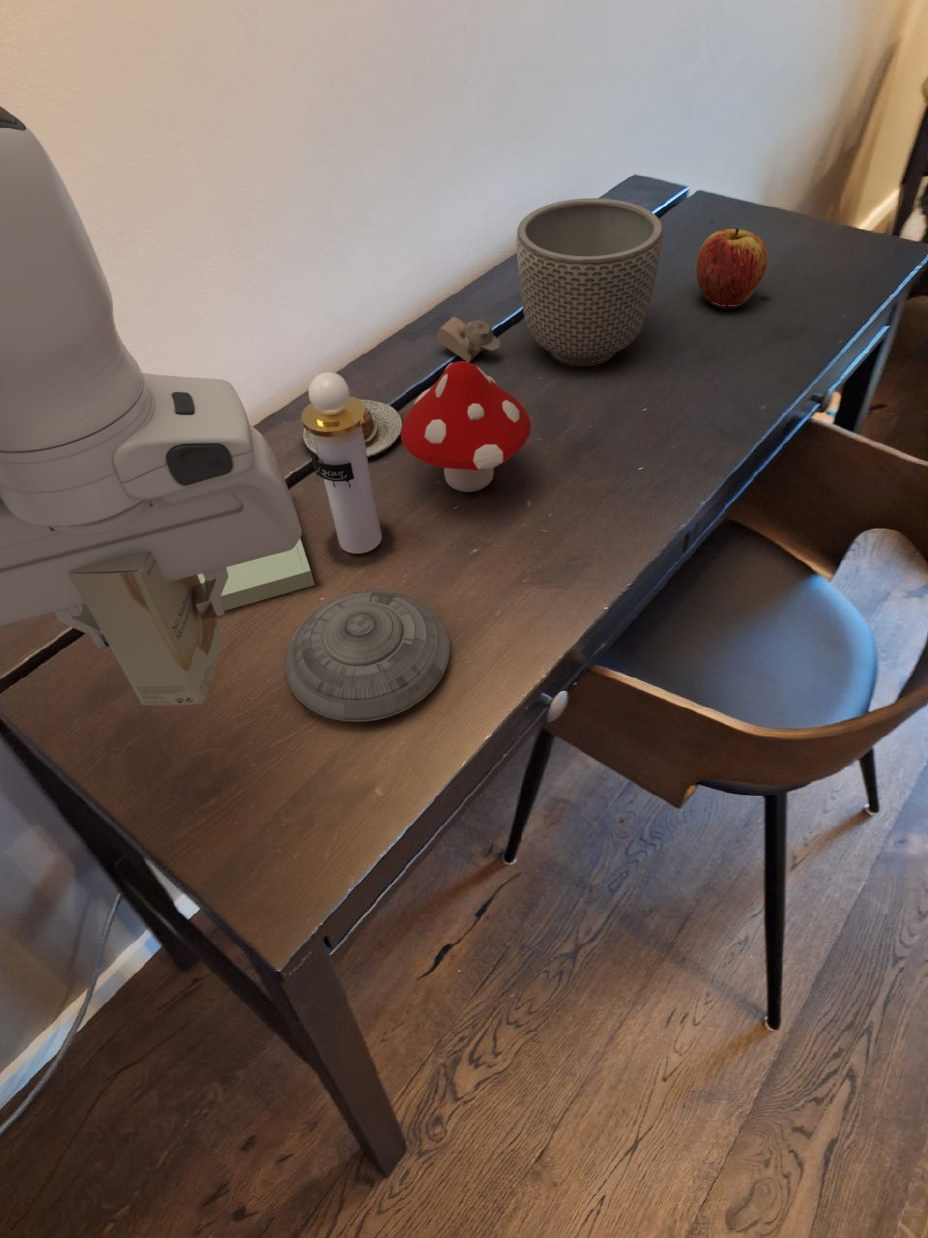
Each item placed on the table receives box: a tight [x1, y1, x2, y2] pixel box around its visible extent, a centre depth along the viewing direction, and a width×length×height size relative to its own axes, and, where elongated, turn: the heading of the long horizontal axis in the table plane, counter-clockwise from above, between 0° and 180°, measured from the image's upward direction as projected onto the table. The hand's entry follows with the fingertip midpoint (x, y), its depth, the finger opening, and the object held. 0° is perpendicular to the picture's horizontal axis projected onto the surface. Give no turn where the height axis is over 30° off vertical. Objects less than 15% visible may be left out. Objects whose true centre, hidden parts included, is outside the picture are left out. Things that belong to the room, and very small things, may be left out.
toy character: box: [435, 316, 501, 363], centre depth 107 cm, size 4×8×6 cm, turn 58°
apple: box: [695, 228, 768, 310], centre depth 110 cm, size 9×9×10 cm
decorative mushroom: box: [400, 360, 532, 493], centre depth 85 cm, size 14×14×15 cm
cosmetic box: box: [69, 552, 223, 706], centre depth 51 cm, size 6×4×12 cm
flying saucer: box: [284, 589, 451, 723], centre depth 73 cm, size 15×15×6 cm
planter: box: [515, 197, 664, 368], centre depth 102 cm, size 17×17×16 cm
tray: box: [198, 538, 316, 612], centre depth 84 cm, size 14×14×2 cm
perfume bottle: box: [301, 371, 383, 554], centre depth 78 cm, size 6×6×20 cm
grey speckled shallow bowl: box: [302, 398, 403, 458], centre depth 97 cm, size 12×12×5 cm
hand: (163, 624), depth 52 cm, fingers closed on cosmetic box, 5 cm apart
